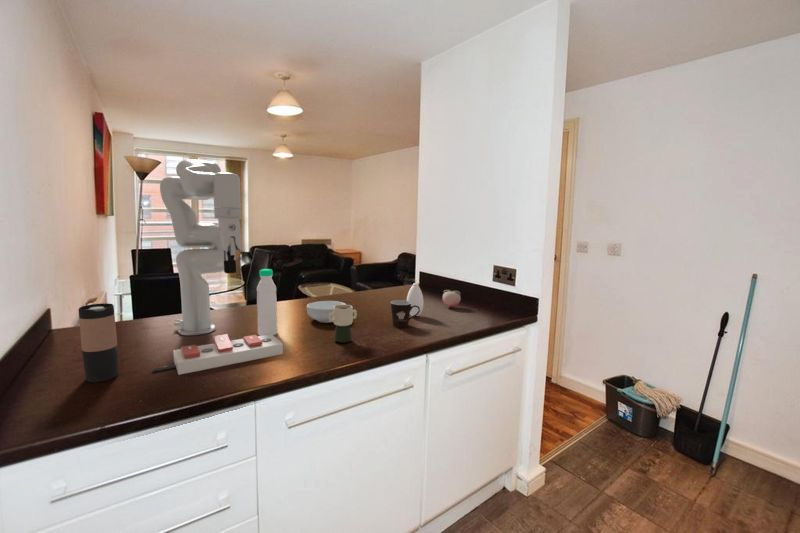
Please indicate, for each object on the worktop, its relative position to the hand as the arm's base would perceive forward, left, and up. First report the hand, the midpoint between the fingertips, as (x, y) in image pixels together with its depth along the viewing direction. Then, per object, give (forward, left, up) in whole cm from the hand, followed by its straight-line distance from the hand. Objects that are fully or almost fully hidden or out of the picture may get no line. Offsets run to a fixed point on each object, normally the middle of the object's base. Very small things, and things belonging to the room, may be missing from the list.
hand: (230, 272), depth 119 cm
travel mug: (-27, -20, -27) cm, 43 cm away
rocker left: (-8, -9, -23) cm, 26 cm away
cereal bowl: (+19, +44, -27) cm, 55 cm away
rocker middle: (-1, -3, -22) cm, 23 cm away
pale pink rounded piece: (+75, +75, -27) cm, 110 cm away
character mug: (+32, +18, -27) cm, 46 cm away
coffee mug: (+53, +40, -27) cm, 72 cm away
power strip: (-2, -4, -27) cm, 27 cm away
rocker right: (+5, +2, -23) cm, 24 cm away
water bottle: (+2, +22, -27) cm, 35 cm away
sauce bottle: (+57, +56, -27) cm, 84 cm away
